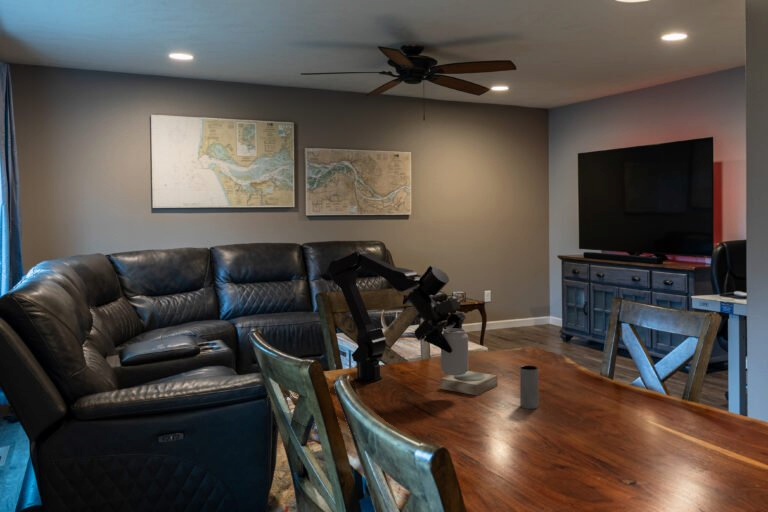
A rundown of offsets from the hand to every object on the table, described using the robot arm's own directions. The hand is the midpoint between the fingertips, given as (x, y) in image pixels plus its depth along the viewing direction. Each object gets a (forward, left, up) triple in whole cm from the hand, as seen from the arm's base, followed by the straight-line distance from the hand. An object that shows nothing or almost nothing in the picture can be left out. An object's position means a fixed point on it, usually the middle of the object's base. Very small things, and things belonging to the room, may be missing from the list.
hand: (458, 349), depth 169 cm
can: (-1, 0, -7) cm, 7 cm away
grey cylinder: (+19, +3, -13) cm, 24 cm away
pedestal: (-3, +10, -13) cm, 17 cm away
